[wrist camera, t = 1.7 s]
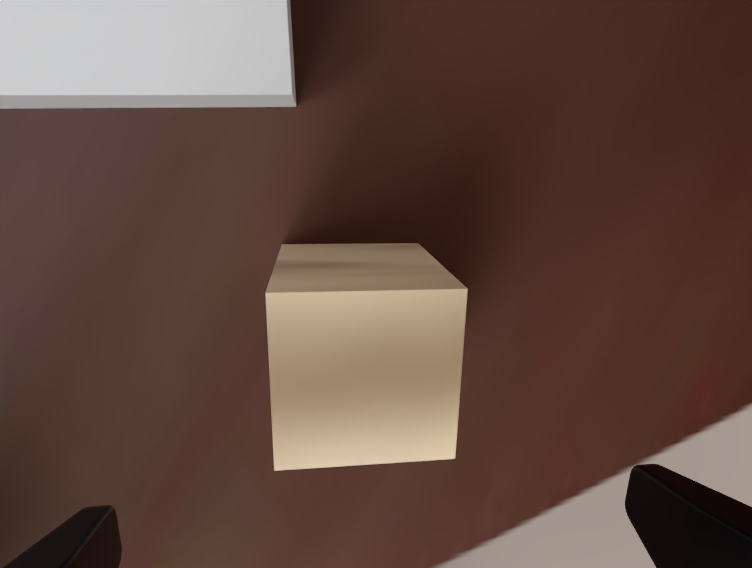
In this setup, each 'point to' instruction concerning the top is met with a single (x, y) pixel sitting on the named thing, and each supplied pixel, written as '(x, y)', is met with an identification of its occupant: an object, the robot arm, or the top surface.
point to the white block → (146, 54)
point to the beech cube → (363, 355)
